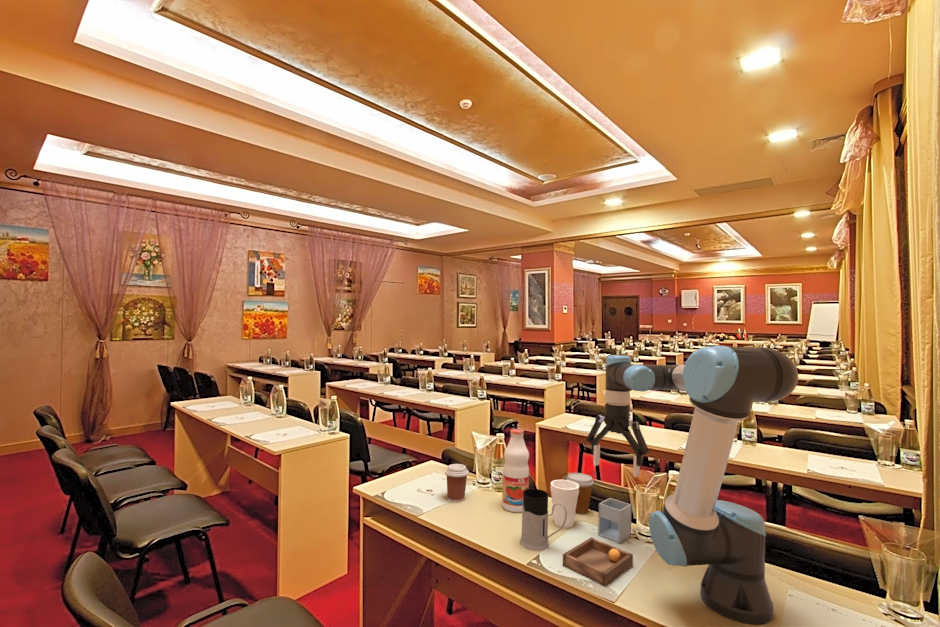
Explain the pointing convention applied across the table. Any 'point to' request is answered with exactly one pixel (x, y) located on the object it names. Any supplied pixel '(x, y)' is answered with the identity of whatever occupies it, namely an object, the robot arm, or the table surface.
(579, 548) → the tray
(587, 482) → the disposable coffee cup
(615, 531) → the grey frame
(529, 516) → the grey mug
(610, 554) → the ball
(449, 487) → the coffee cup
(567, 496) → the foam cup
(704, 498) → the robot arm
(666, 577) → the table surface
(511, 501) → the fruit juice
